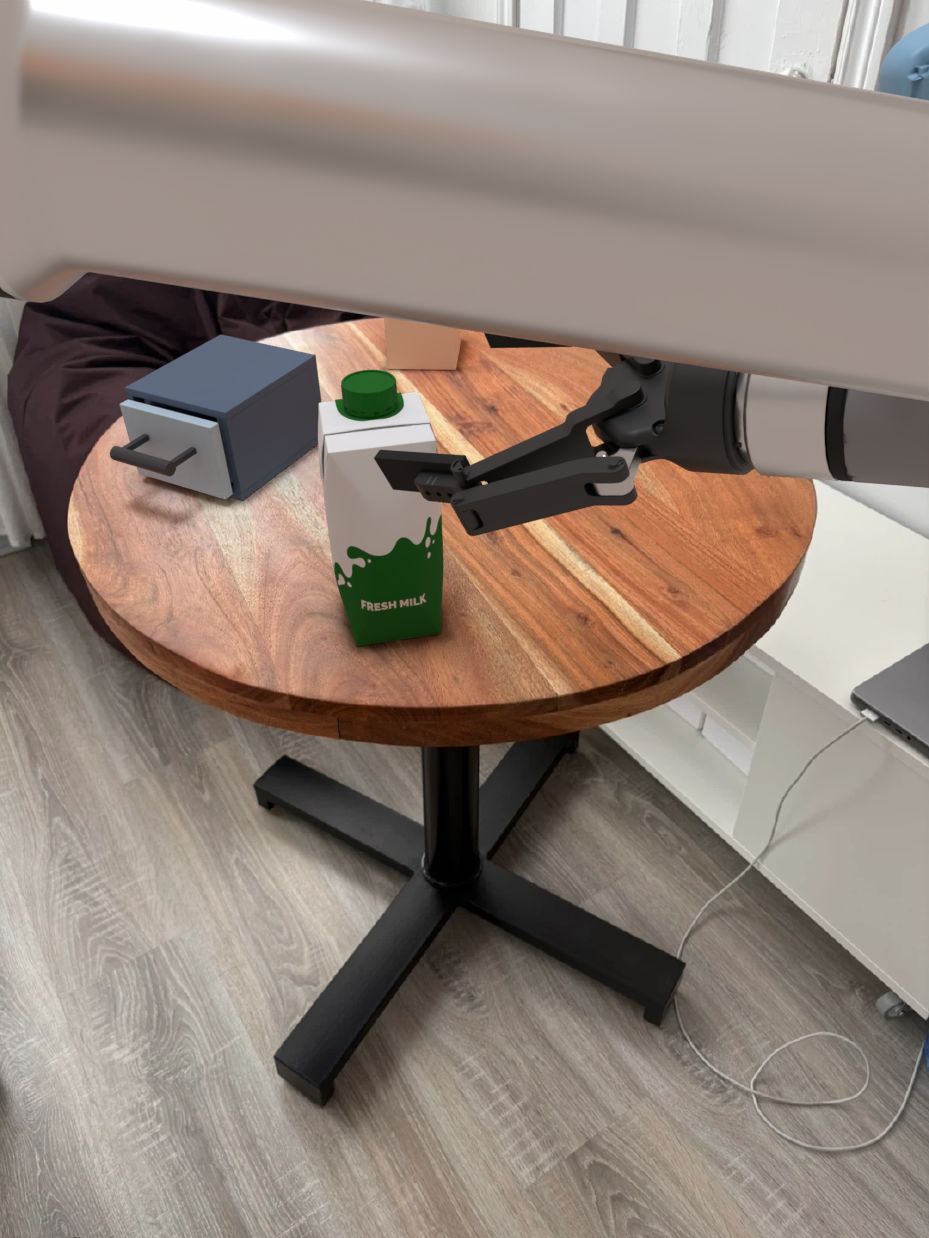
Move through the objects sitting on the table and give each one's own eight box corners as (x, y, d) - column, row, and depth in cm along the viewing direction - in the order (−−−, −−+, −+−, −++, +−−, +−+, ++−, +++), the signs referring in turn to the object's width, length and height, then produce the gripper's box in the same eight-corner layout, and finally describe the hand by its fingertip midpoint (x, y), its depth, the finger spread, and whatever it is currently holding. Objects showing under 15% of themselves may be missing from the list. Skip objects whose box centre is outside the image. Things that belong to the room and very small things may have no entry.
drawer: (194, 522, 87) (177, 449, 82) (106, 494, 92) (84, 423, 87) (306, 440, 100) (296, 372, 95) (223, 418, 104) (209, 352, 99)
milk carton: (434, 576, 82) (423, 361, 69) (454, 641, 75) (445, 415, 62) (335, 589, 80) (305, 373, 68) (346, 657, 73) (314, 430, 61)
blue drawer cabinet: (242, 501, 92) (225, 412, 86) (147, 472, 97) (124, 387, 91) (326, 437, 102) (315, 354, 96) (236, 414, 107) (220, 334, 100)
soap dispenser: (461, 342, 121) (456, 160, 107) (455, 370, 115) (450, 180, 101) (365, 341, 122) (348, 161, 108) (354, 369, 116) (335, 180, 102)
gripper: (690, 635, 45) (367, 578, 57) (838, 310, 56) (539, 321, 68) (653, 531, 40) (307, 493, 52) (824, 195, 50) (503, 229, 63)
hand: (438, 395), depth 60 cm, fingers open, 13 cm apart
